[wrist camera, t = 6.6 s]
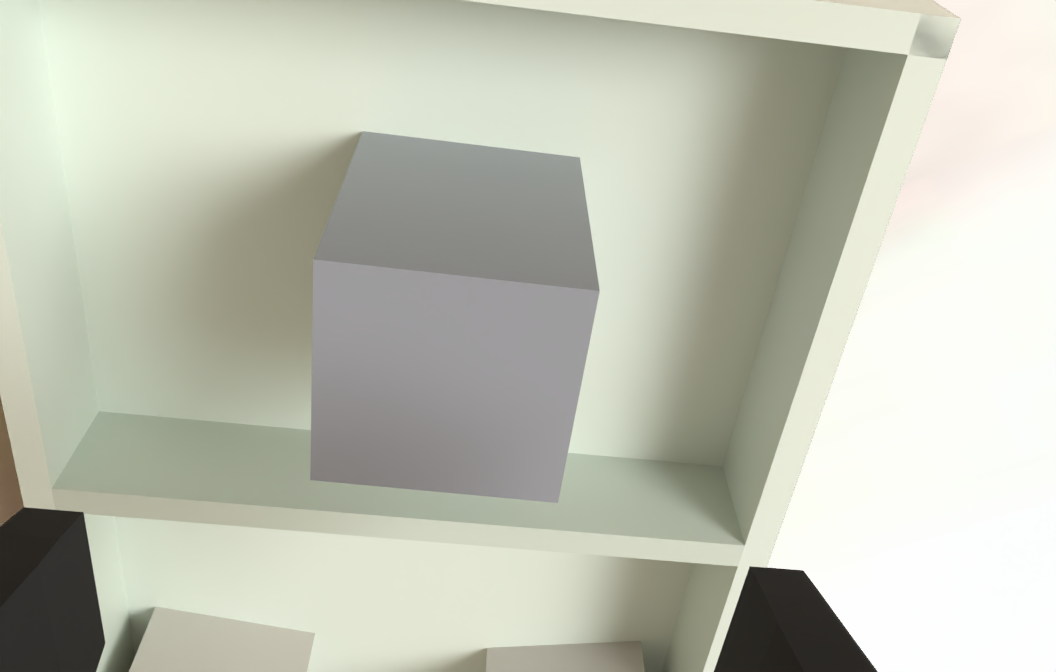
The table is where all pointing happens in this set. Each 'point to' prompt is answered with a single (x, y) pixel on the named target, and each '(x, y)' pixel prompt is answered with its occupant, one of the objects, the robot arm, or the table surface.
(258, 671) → the white block
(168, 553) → the tray
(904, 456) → the table surface
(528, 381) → the grey rectangular block
